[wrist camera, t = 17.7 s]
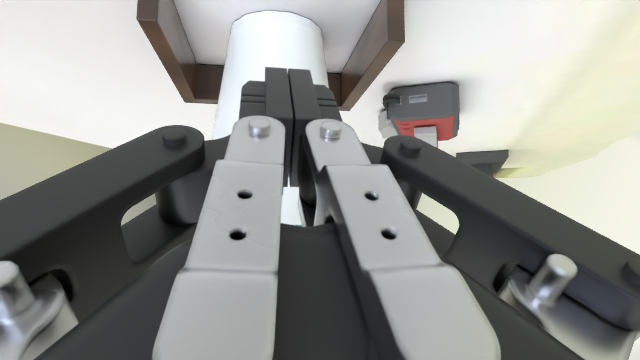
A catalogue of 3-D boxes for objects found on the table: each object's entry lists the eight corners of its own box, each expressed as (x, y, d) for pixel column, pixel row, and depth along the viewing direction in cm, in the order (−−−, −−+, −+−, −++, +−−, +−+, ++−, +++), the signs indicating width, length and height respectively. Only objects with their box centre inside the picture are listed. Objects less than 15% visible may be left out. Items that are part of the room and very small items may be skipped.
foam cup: (366, 48, 28) (368, 224, 27) (266, 73, 33) (263, 225, 31) (293, -25, 20) (290, 223, 19) (175, 22, 25) (165, 223, 23)
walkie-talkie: (361, 86, 36) (391, 134, 55) (362, 132, 36) (391, 165, 54) (461, 74, 33) (456, 130, 52) (463, 124, 33) (457, 162, 52)
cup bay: (139, -37, 19) (136, 19, 19) (403, -9, 22) (405, 41, 21) (186, 68, 32) (184, 102, 32) (349, 78, 34) (349, 111, 34)
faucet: (413, 155, 70) (416, 266, 68) (508, 149, 65) (515, 269, 63) (422, 169, 87) (425, 258, 85) (498, 165, 82) (503, 261, 80)
